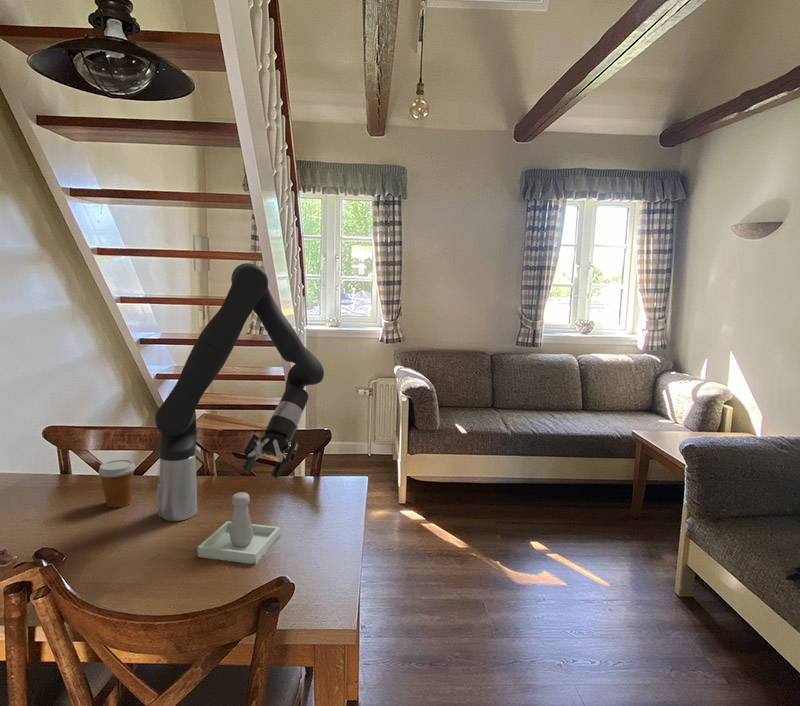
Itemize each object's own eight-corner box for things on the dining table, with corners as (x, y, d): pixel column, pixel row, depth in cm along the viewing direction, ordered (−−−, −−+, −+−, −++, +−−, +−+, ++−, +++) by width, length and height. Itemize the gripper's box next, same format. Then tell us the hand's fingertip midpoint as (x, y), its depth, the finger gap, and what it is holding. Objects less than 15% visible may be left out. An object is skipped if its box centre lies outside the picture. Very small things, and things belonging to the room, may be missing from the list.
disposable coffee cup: (112, 513, 149) (109, 472, 147) (93, 505, 154) (91, 465, 152) (143, 502, 157) (142, 463, 155) (125, 494, 162) (123, 456, 160)
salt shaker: (258, 540, 135) (257, 491, 133) (244, 551, 129) (243, 500, 127) (239, 536, 137) (238, 488, 135) (224, 546, 131) (223, 496, 129)
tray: (197, 556, 127) (197, 547, 127) (227, 529, 141) (227, 521, 141) (256, 564, 125) (255, 554, 124) (280, 536, 138) (280, 527, 138)
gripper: (257, 411, 147) (230, 464, 138) (301, 417, 142) (277, 472, 133) (268, 425, 153) (244, 476, 144) (311, 431, 148) (289, 485, 139)
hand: (260, 474), depth 138 cm, fingers open, 8 cm apart
